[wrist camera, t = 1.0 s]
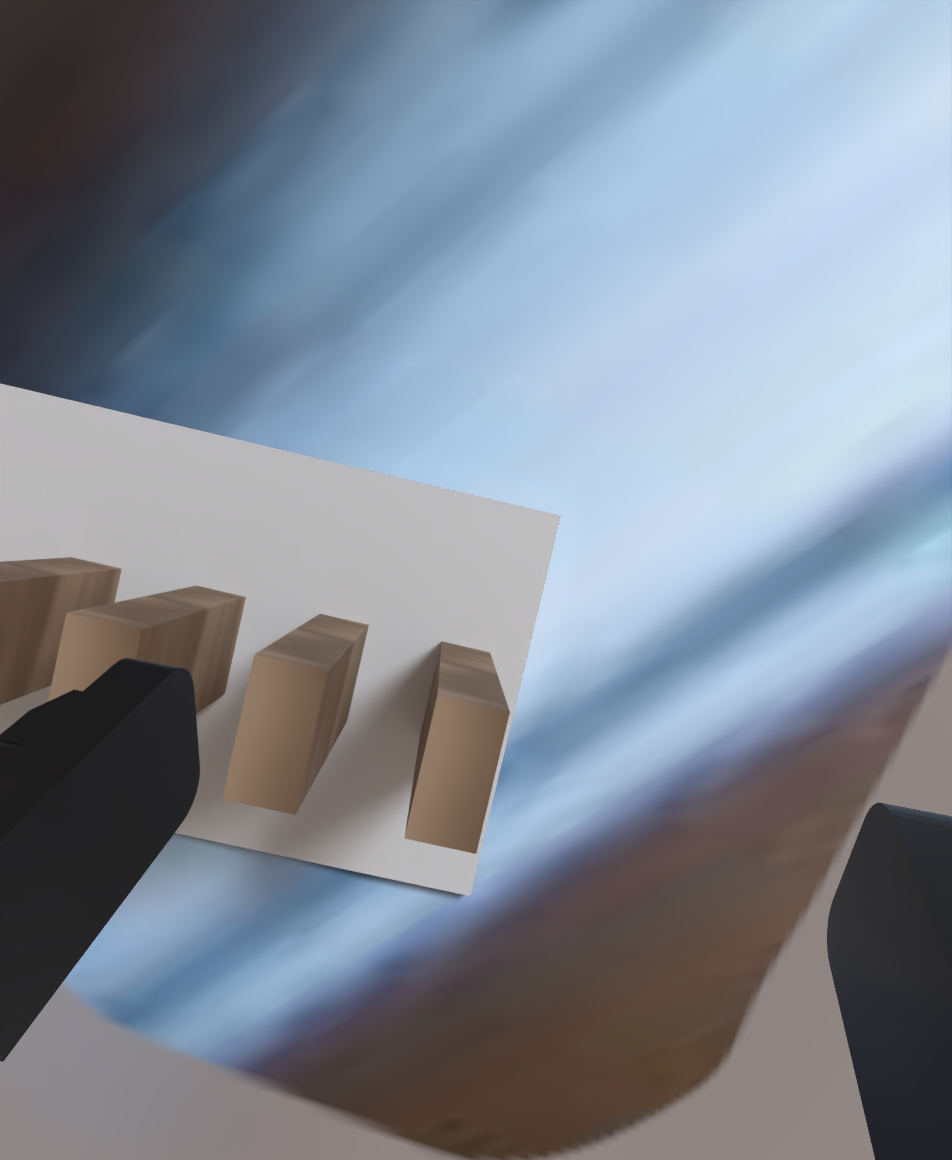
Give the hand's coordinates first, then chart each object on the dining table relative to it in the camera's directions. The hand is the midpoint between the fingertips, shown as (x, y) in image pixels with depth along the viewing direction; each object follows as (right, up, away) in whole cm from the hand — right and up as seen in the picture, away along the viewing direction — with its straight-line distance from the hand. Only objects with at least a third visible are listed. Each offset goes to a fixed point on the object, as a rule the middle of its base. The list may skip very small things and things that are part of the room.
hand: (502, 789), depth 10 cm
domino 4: (-1, -2, +23) cm, 23 cm away
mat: (-15, +1, +23) cm, 28 cm away
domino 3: (-6, -1, +23) cm, 24 cm away
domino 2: (-11, 0, +23) cm, 25 cm away
